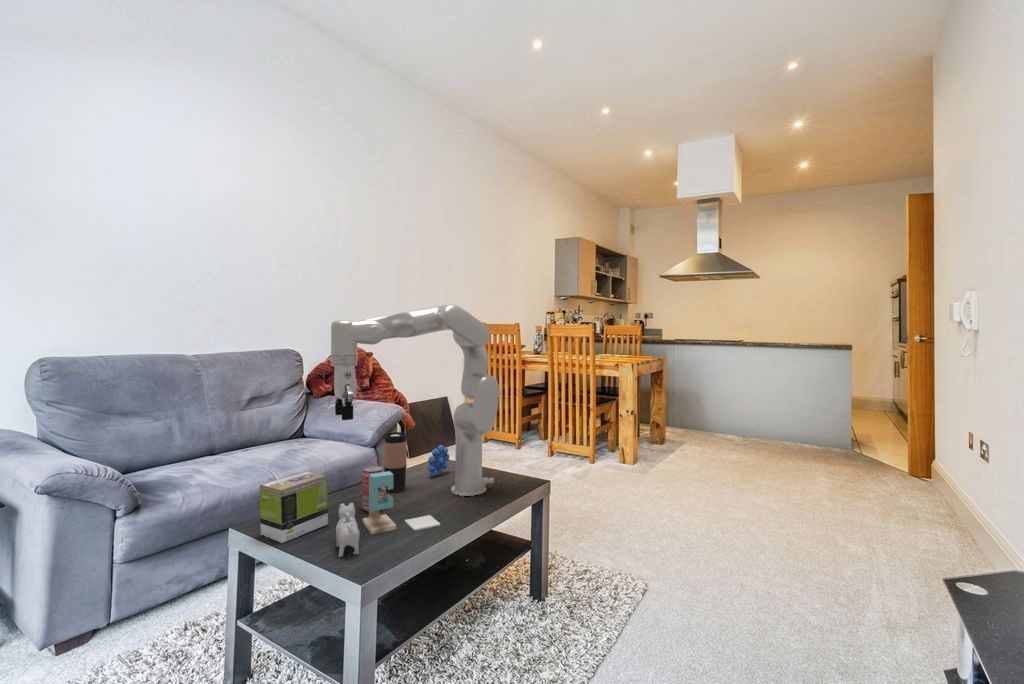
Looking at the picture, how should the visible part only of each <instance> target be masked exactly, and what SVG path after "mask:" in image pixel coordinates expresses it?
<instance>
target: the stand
mask: <svg viewBox="0 0 1024 684" xmlns="http://www.w3.org/2000/svg"><path fill="white" fill-rule="evenodd" d="M379 491H380V492H381V493H385V494H386V493H387V492H386V488H385V487H380V488H378V500H379ZM362 524H363V525H364V526H365V528H366V529H367V531H369V533H370V534H371V535H375V534H381V533H387V532H391V531H395V530H397V524H396V523H395V522H394V521H393V520H392V519H391V518H390V517H389V516H388V515H387V514H386V513H384V514H380V510H376V511H372V510H371V509H370V508H369V512H368V517H364V518H363V517H362Z"/></svg>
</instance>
